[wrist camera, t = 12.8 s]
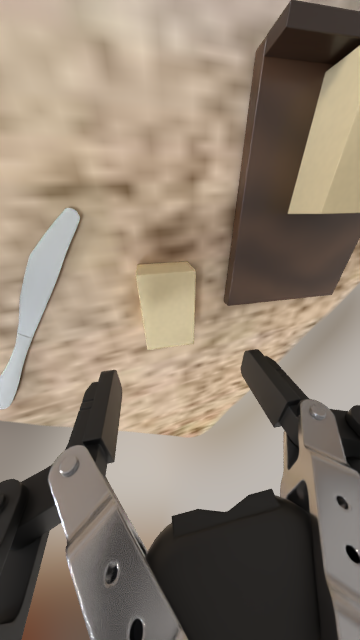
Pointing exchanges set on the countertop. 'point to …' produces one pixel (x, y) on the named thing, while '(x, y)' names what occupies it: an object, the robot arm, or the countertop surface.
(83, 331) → the countertop surface
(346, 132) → the beige rectangular block
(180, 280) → the pad
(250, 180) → the board
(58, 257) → the butter knife
